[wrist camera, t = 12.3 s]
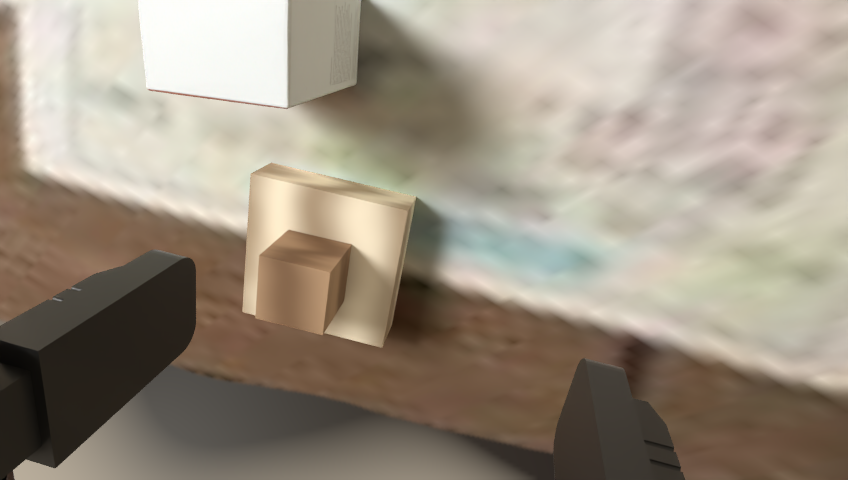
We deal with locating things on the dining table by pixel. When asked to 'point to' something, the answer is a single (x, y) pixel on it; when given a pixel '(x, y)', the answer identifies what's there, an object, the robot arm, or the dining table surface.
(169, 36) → the small box
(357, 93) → the dining table surface
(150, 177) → the dining table surface
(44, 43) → the dining table surface
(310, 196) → the beige square plate
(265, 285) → the walnut cube
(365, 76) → the dining table surface
